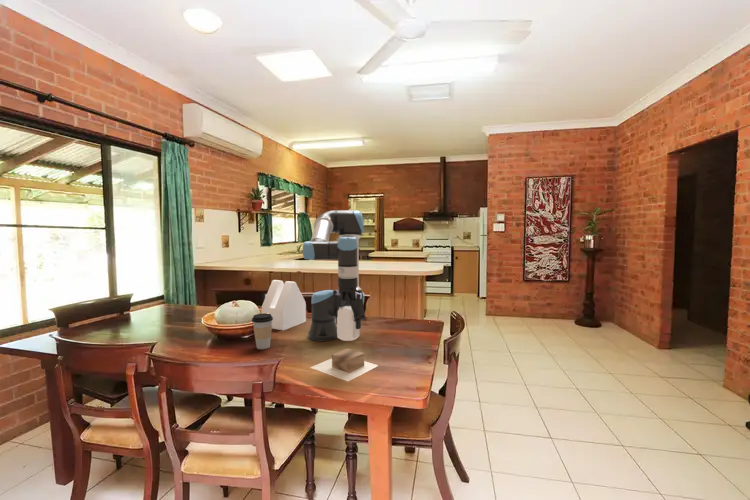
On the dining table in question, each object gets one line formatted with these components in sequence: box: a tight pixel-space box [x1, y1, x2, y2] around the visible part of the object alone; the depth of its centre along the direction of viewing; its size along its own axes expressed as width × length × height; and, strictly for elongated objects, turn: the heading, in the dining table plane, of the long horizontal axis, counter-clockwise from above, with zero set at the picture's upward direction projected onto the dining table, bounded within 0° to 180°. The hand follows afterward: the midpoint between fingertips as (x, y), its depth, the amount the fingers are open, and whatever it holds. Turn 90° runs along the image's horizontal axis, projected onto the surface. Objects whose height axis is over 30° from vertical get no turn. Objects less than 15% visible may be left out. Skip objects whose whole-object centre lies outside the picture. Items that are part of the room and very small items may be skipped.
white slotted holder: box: [261, 279, 307, 331], centre depth 199 cm, size 19×15×25 cm
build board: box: [309, 357, 379, 382], centre depth 137 cm, size 20×18×1 cm
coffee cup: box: [251, 313, 273, 350], centre depth 161 cm, size 9×9×15 cm
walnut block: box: [331, 347, 365, 373], centre depth 137 cm, size 9×9×5 cm
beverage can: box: [336, 306, 359, 342], centre depth 136 cm, size 8×8×12 cm
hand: (348, 334), depth 136 cm, fingers closed on beverage can, 8 cm apart
